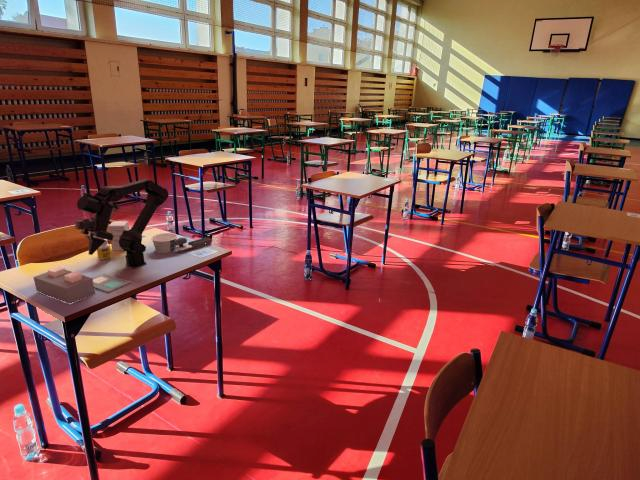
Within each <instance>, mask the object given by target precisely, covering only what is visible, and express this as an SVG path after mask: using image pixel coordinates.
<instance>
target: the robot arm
mask: <svg viewBox="0 0 640 480" xmlns="http://www.w3.org/2000/svg"><path fill="white" fill-rule="evenodd" d="M141 191H144V192H145V193H146V194H147V195H146V202H145V204H144V206H143V208H142V210H141V211H140V213H139V215H138V216H137V218H136V220H135V222H133V225H132V227H130V228H129V229H130V230H128V231H127V230H124V231H123V233H122V235H121V236H120V237H119V238H120V239H119V246H120V247H121V248H122V249H123V250H122V251H123V252H125V253H126V254H125V256H124V257H125V262H126V263H125V264H126V265H127V266H128V267H130V268H133V269H134V268H137V267H141V266H145V265H147V262H146V261H145V257H144V256H145V255H144V252H146V249H147V246H146V245H144V244H143V243H142V241H143V233H144V231H145V229H146V228H147V226H148V224H149V222H150V221H151V219H152V217H153V216H154V214H155V212H156V210H157V209H158V207H160V206H161V205H163V204H165V202H166V201H167V200H168V199H169V191H168V189H167V188H165V187H162V186H161V185H159V184H157V183H155V182H154V181H153V180H151V179H147V178H141V179H140V180H137V181H132V182H128V183H125V184H121V185H107V186H102V187H101V188H100V189H99V191H98V192H96V193H94V195H92V194H91V193H88V192H87V193H86V192H84V193H83V195H81V197H80V198H78V200H77V201H76V207H77V209H78V210H80V211H83V212H86V213H89V214H94V216H92V217H91V218H90V219H89V218H82V220H75V221H74V224H75V225H74V226H75V229H76V230H78V231H79V230H81V231H80V234H83V235H85V238H87V240H88V256H89V255H90V256H93V254H94V253H95V252H97V249H98V248H99V247H100V246H101V245H102V244H103V243H104V242H106V240H104V239H107V241H110V242H111V241H112V240H113V237H114V236H113V234H112V233H109V231H107V230H108V229H109V228H108V226H109V225H110V224H111V223H112V221H111V219H112V216H113V212H114V210H116V211H119V210H120V209H119V207H118V205H117V202H119V201H120V200H123V199H124V198H125V197H126V196H129V195H131V194H135V193H138V192H141Z"/></svg>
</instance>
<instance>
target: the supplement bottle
mask: <svg viewBox="0 0 640 480" xmlns="http://www.w3.org/2000/svg"><path fill="white" fill-rule="evenodd" d="M104 240H106V242H104V243H103V244H102V245H101V246H100V247H99V248H98V249H97V250H96V254H97V259H98V261H99V263H108V262H111V261H112V259H113V257H112V253H111V252H112V251H111V244H109V243H108V240H107V239H104Z"/></svg>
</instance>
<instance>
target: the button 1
mask: <svg viewBox="0 0 640 480" xmlns="http://www.w3.org/2000/svg"><path fill="white" fill-rule="evenodd" d="M65 270H66V269H65V267H62V266H55V267H53V268H50V269H47V272H48V273H49V276H52V277H58V276H60V275H63V274H66V273H65Z"/></svg>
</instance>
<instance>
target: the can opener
mask: <svg viewBox="0 0 640 480" xmlns="http://www.w3.org/2000/svg"><path fill="white" fill-rule="evenodd" d="M187 243H188V244H187ZM205 243H206V244H205ZM211 244H212V239H211V238H210V237H209V238H208V237H207V236H206V237H203V238H202V237H201V238H199V239H196V240H195V239H194V240H191V241H189V242H188V239H187V238H186V237H179V238H177V239H176V241H175V242H174V245H175V246H176V247H175V251H176V250H177V251H184V250H187V249H192V250H194V249H195V248H196V249H198V248H202V247H205V246H208V245H209V246H210V245H211Z"/></svg>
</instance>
